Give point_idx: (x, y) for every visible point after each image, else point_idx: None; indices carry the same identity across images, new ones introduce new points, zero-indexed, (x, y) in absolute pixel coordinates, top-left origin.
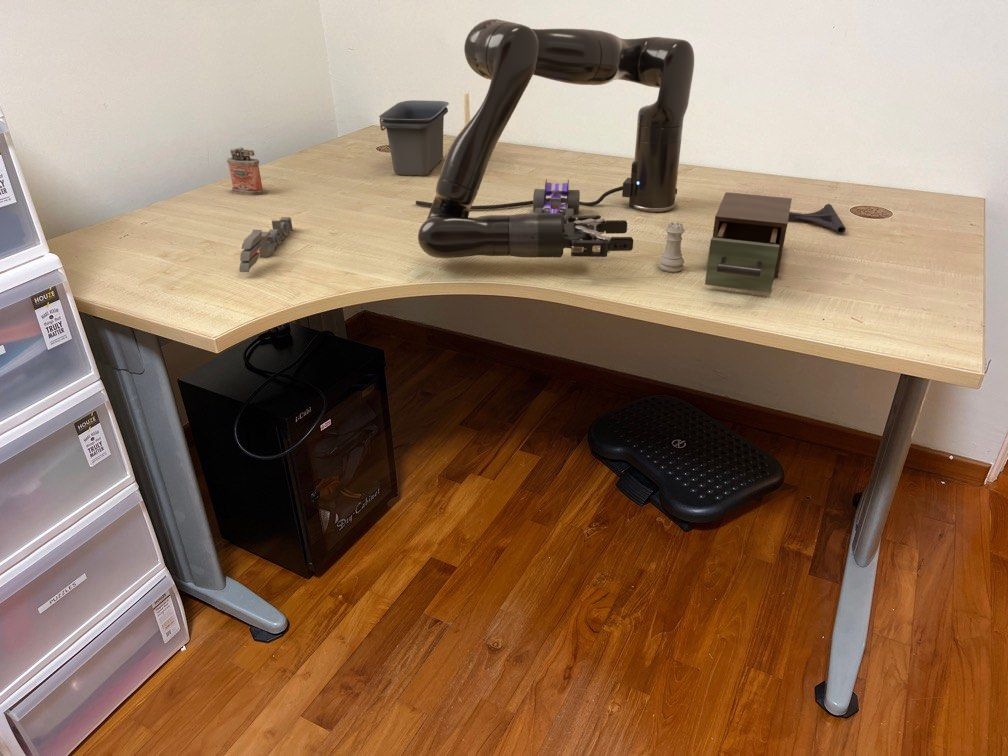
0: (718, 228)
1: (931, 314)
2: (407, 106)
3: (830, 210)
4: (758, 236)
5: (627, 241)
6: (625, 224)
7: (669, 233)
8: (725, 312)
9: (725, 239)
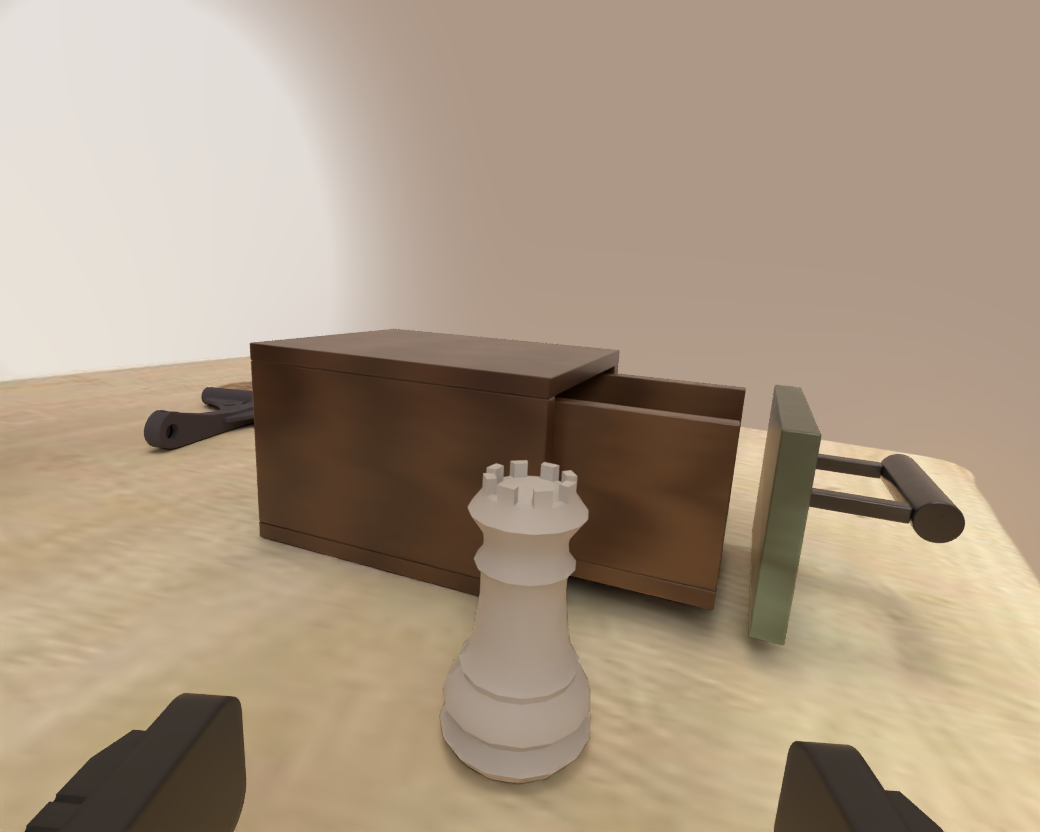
0: (551, 428)
1: (741, 441)
2: None
3: (245, 392)
4: None
5: (916, 822)
6: (230, 730)
7: (564, 538)
8: (992, 660)
9: (792, 417)
